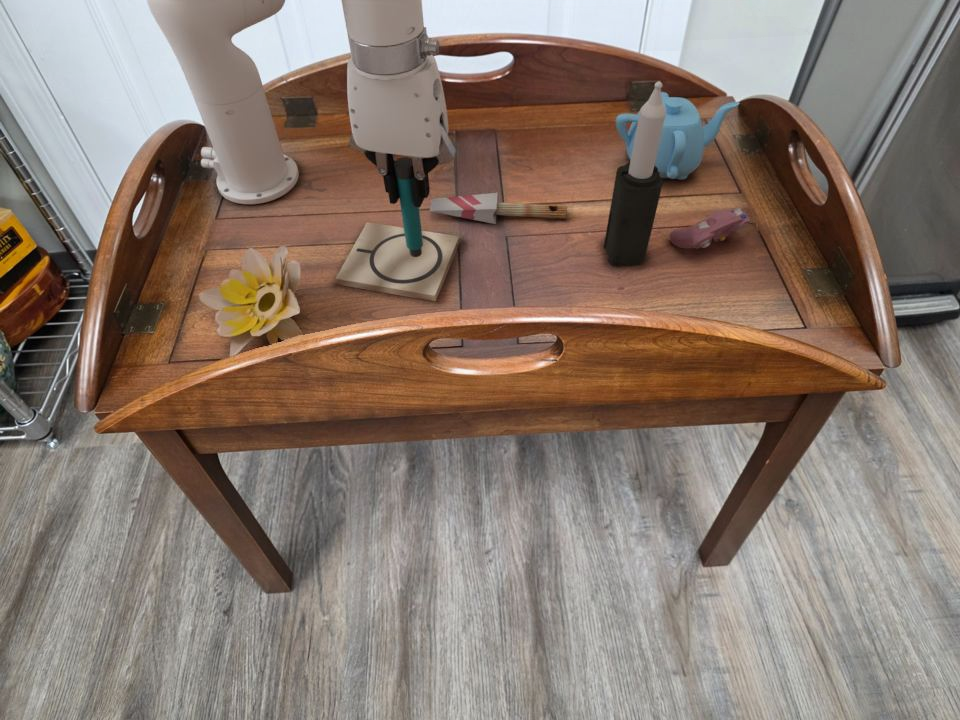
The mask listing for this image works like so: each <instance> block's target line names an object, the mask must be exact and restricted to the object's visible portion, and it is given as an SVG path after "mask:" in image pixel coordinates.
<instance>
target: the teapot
mask: <svg viewBox="0 0 960 720" xmlns="http://www.w3.org/2000/svg"><path fill="white" fill-rule="evenodd" d="M661 95H662V103H663V105H664V107H665V109H666V115H665V120H664V124H663V129H662V133H661V138H660V142H659V147H658V151H657V156H656V160H655V166H656V167H657V168H658V172H659V173H660V174H659V175H660V177H661V179H671V180H675V179H677V180H685V179H688V176H689V175H690V174H691V173H693V172H694V171H695V170H696V169H697V168H699V166H700V165H701V163H702V159H703V156H704V148H706V147H707V146H709V145H711V144H712V143H713V141H715V139H716V138H717V136H718V135H719V132H720V131H721V127H722V124H723V123H724V119H725V118H726V116H727V115H728V113H729V112H731V111H732V110H733V109H735V108H736V107H738V106H739V105H740V101H730V102H727V103H725V104H722V106H720V107H719V108H718V110H716V112H715V114H714V115H713V117H711V118H712V119H710V121H708V123H707V124H705V125H703V124H702V120H701V116H700V113H699V110H698V108H697V107H696V106H695V105H694V103H692V102H691V101H690V100H689V99H686V98H684V97H678V96H677V97H676V96H669V94H668V93H667V92H665V91H661ZM639 114H640V110H638V112H637V114H636V113H625V112H624V113H620V114H618V115H617V116H616V118H615V128H616V130H617V132H618V134H619V136H620V137H621V139H622V140H623V141H624V143H625V150H626V155H627V157H628V158H629V160H630V161H631V156H632V151H633V145H634V140H635V135H636V129H637V124H638V119H639ZM627 123H631V124H630V126H629V129H628V130H627ZM630 161H629V162H630Z"/></svg>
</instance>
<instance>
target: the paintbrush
mask: <svg viewBox="0 0 960 720" xmlns="http://www.w3.org/2000/svg"><path fill="white" fill-rule="evenodd" d="M429 212H433V213H438V214H443V215H447V216H448V215H449V216H453V217H457V218H463V219H468V220H472V221H478V222H483V223H487V224H493V225H497V216H509V217H525V218H527V217H528V218H543V219H547V218H548V219H552V218H553V219H561V220H562V219H563V220H564V219H567V216H568V215H567V214H568V207H567V205H551V204H531V203H519V202H518V203H516V202H503V201H502V202H501V201H500V202H499V201H498V192H491V193H478V194H470V195H457V196H447V197H438V198H431V199H430V205H429Z"/></svg>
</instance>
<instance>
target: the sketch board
mask: <svg viewBox="0 0 960 720" xmlns="http://www.w3.org/2000/svg"><path fill="white" fill-rule="evenodd" d="M422 238H423V246H422V247H421V249H422V254H421V255H420V256H419V257H412V256H411V255H410V251H409V249H408V248H407V246H406V239H405V233H404V227H401V226H394V225H388V224H384V223H383V224H381V223H375V222H371V221H370V222H369V221H367V222H366V223H365V225H364V226H363V228H362V229H361V232H360V233H359V236H358V237H357V239H356V241H355V243H354V244H353V247H352V248H351V249H350V252H349V253H348V255H347V257H346V259H345V261H344V262H343V264H342V266H341V268H340V269H339V271H338V273H337V275H336V276H335V282H336V285H337V286H343V287H349V288H353V289H354V288H355V289H359V290H366V291H373V292H376V293H377V292H378V293H385V294H389V295H395V296H400V297H401V296H402V297H407V298H412V299H419V300H424V301H429V302H437V299H438V297H439V294H440V293H441V289H442V287H443V284H444V282H445V280H446V277H447V275H448V272H449V270H450V267H451V265H452V263H453V260H454V257H455V255H456V252H457V250H458V247H459V245H460V243H461V242H460V236H459V235H453V234H447V233H441V232H434V231H428V230H422Z"/></svg>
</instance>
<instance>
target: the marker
mask: <svg viewBox="0 0 960 720" xmlns="http://www.w3.org/2000/svg"><path fill="white" fill-rule="evenodd" d="M394 170H395V176H396V178H397V185H398V192H399V204H400V211H401V218H402V224H403V228H404V233H405V239H406V246H407V248H408V249H409V251H410V255H411V256H412V257H419V256H420V255H421V254H422V249H421V247H422V246H423V238H422V231H423V230H422V222H421V216H420V215H421V214H420V208H419V207H415V206H414V203H413V195H412V188H411V179H412V177H413V175H414V173H413V172H414V170H413V164H412V159H411V157H410V156H401V157H398V158H397V159H396V158H395V161H394Z"/></svg>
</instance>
